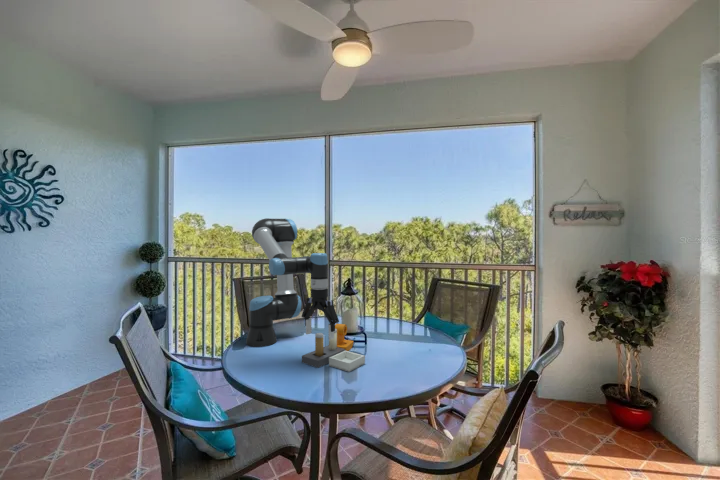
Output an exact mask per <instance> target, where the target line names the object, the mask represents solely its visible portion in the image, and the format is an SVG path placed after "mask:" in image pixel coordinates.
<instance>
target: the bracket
mask: <svg viewBox="0 0 720 480" xmlns="http://www.w3.org/2000/svg"><path fill="white" fill-rule="evenodd" d="M335 329H337V347H339V348H343V349H345V351H349V352H350V350H351V349H352V348H353V346H354V340H350V339H345V336H346V335H347V333H348V326H347V324H345V323H335Z"/></svg>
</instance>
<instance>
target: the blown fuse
mask: <svg viewBox="0 0 720 480" xmlns="http://www.w3.org/2000/svg"><path fill="white" fill-rule="evenodd" d="M324 343H325V342H324V333H322V332H317V333H315V339H314V344H315V345H314V346H315V350H314V351H315V356H318V357H321V356H323V355H324V347H325V346H324Z"/></svg>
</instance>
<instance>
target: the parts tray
mask: <svg viewBox="0 0 720 480" xmlns="http://www.w3.org/2000/svg"><path fill="white" fill-rule="evenodd" d="M365 364H366V355H362V354H359V353H356V352H352V351H350V350H349V351H343V352H341V353H338V354H336V355H334V356H331V357H329V363H328V366H329V367H332V368H336V369H337V370H342V371H344V372H349V373H350V372H352V371H353V370H356V369H357V368H360V367H361V366H363V365H365Z"/></svg>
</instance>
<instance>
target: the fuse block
mask: <svg viewBox="0 0 720 480" xmlns="http://www.w3.org/2000/svg"><path fill="white" fill-rule="evenodd" d="M343 351H345V349H343V348H339V347H337V329H335V331H334V338H333V339H331V340H329V339H328V344H327V345H326V346H324V355H323V356H321V357H318V356H315V350H312V351H310V352H308V353H305V354H303V355H301V364H305V365H308V366H311V367H315V368H317V369H319V368H321V367H323V366H326V365H329V357H331V356H334V355H336V354H338V353H341V352H343Z"/></svg>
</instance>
